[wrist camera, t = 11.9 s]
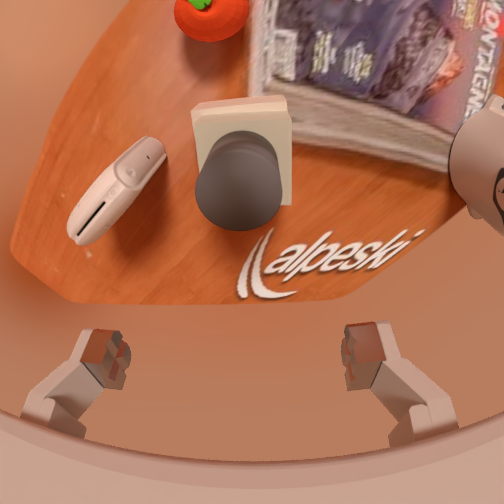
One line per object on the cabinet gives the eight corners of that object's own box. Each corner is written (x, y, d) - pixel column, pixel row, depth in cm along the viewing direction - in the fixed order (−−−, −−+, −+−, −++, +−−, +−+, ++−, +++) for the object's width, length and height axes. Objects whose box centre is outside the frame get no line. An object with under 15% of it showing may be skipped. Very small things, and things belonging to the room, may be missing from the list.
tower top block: (287, 110, 26) (291, 119, 23) (287, 186, 31) (291, 204, 28) (201, 115, 27) (193, 124, 24) (210, 189, 32) (204, 208, 28)
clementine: (163, 13, 24) (139, 6, 18) (208, -31, 21) (196, -50, 15) (217, 55, 27) (206, 56, 21) (264, 12, 24) (266, 1, 18)
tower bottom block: (282, 94, 30) (286, 101, 26) (287, 169, 35) (291, 187, 31) (199, 102, 31) (190, 111, 27) (211, 175, 36) (204, 194, 32)
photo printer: (148, 127, 32) (101, 167, 22) (173, 152, 34) (138, 202, 24) (100, 182, 36) (51, 235, 26) (122, 203, 38) (82, 262, 28)
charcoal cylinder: (275, 127, 24) (280, 149, 19) (279, 192, 27) (284, 228, 23) (202, 134, 24) (187, 158, 19) (213, 197, 28) (203, 233, 23)
